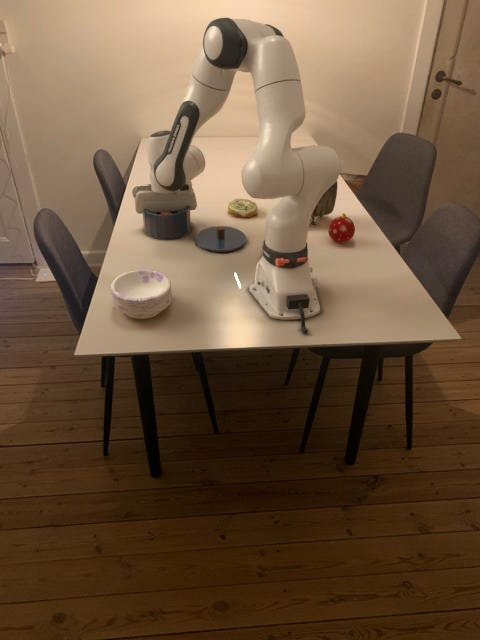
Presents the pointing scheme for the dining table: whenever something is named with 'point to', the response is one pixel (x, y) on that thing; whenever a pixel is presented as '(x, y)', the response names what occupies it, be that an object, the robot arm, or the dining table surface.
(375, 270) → the dining table surface
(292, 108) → the robot arm
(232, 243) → the crock lid
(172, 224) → the crock
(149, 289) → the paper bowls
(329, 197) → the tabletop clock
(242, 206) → the decorated donut
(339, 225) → the christmas ornament
